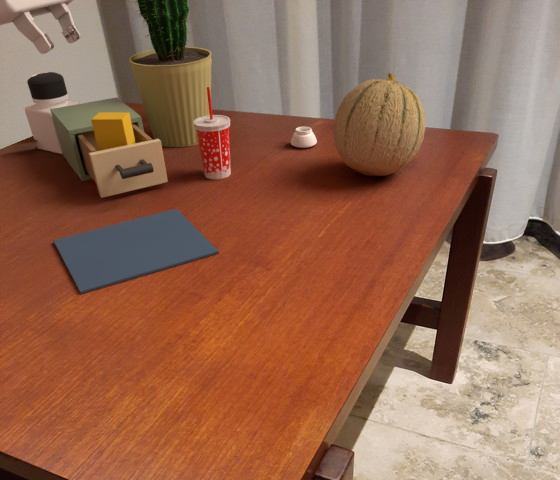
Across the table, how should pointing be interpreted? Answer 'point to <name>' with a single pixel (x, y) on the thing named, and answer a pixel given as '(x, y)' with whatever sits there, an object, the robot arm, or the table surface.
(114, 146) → the sponge
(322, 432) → the table surface
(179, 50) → the potted cactus
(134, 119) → the cabinet
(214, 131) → the beverage cup
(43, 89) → the container
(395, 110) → the cantaloupe
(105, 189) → the drawer
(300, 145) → the white jar
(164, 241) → the mat
